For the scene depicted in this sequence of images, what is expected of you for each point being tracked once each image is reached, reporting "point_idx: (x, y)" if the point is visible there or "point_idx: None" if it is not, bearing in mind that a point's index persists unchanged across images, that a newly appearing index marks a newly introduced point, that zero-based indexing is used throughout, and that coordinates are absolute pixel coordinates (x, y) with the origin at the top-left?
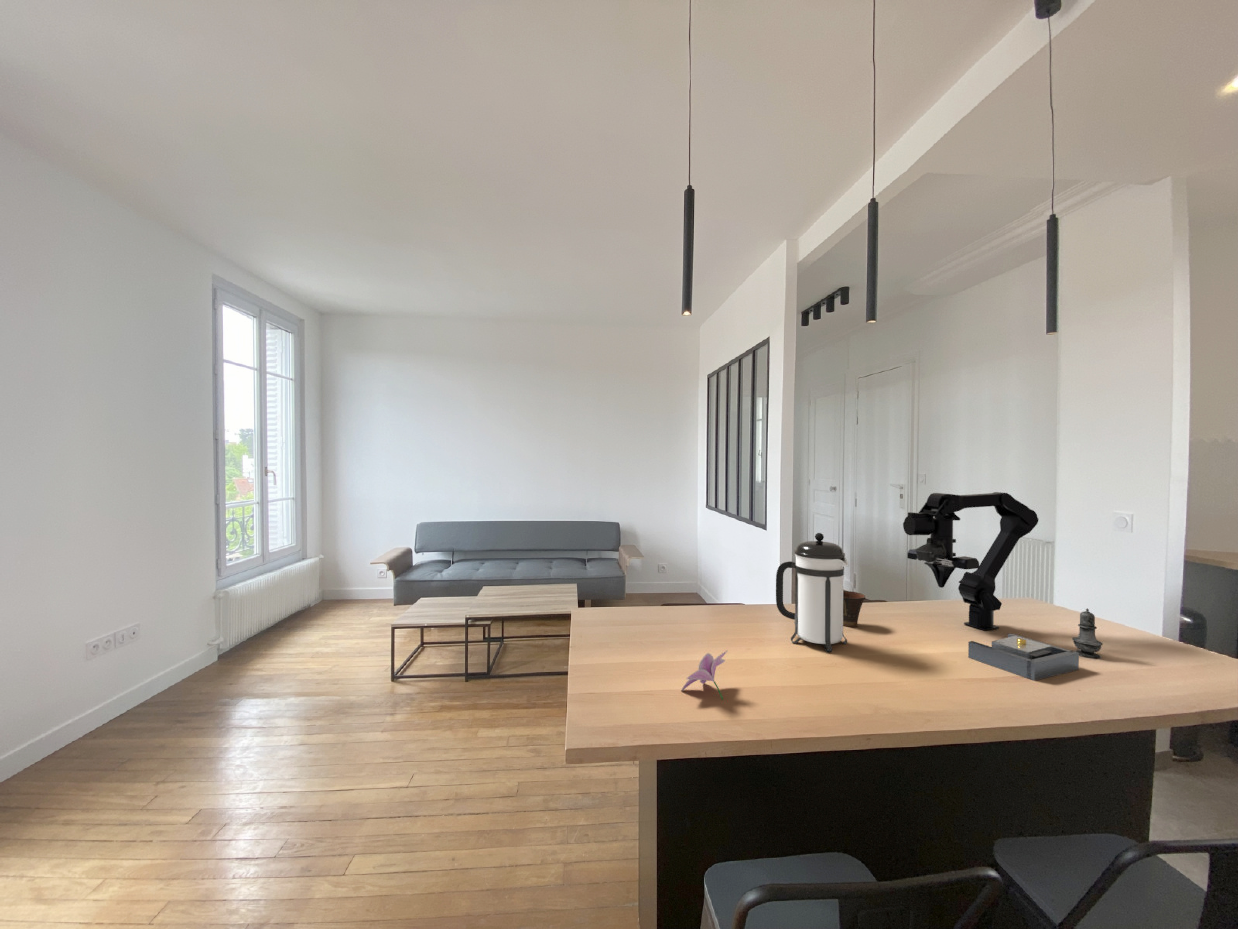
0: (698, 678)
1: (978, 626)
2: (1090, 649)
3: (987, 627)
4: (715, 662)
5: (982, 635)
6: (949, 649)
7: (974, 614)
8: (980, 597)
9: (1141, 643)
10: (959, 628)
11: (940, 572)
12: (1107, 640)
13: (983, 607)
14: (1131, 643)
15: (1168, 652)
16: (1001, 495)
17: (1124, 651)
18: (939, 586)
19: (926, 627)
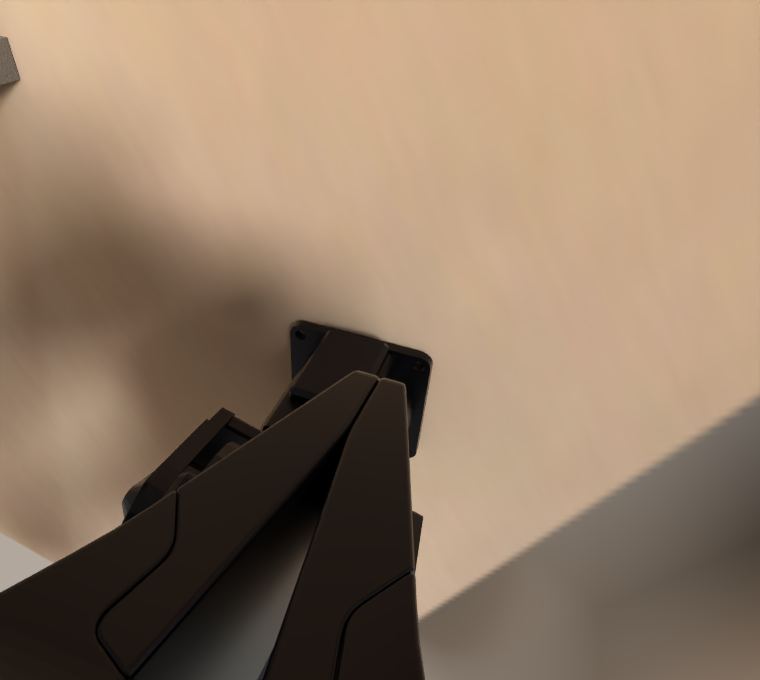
0: None
1: (327, 335)
2: None
3: (303, 363)
4: None
5: (249, 217)
6: None
7: (318, 386)
8: (167, 464)
9: (70, 529)
10: (404, 253)
11: (130, 630)
12: (100, 507)
13: (220, 419)
14: (71, 515)
15: (2, 491)
16: None
17: (5, 430)
18: (384, 383)
19: (583, 19)
